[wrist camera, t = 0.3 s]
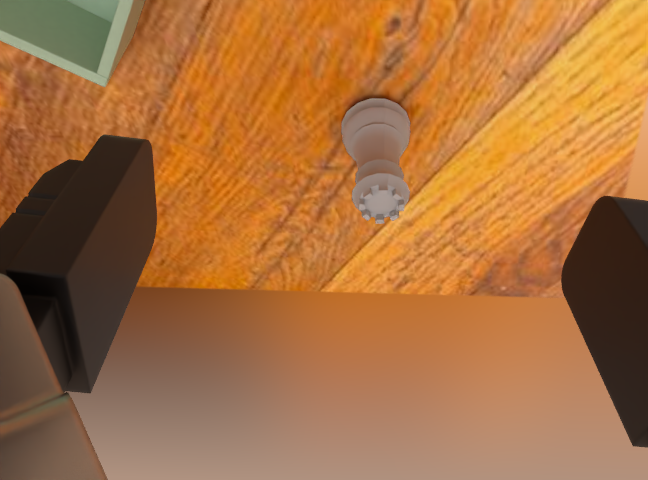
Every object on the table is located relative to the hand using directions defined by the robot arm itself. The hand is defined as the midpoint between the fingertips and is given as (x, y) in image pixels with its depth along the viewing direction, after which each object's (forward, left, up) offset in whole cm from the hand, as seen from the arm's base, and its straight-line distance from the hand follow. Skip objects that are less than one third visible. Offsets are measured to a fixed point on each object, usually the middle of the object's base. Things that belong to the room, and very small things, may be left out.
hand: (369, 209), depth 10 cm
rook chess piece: (+11, +9, -24) cm, 28 cm away
